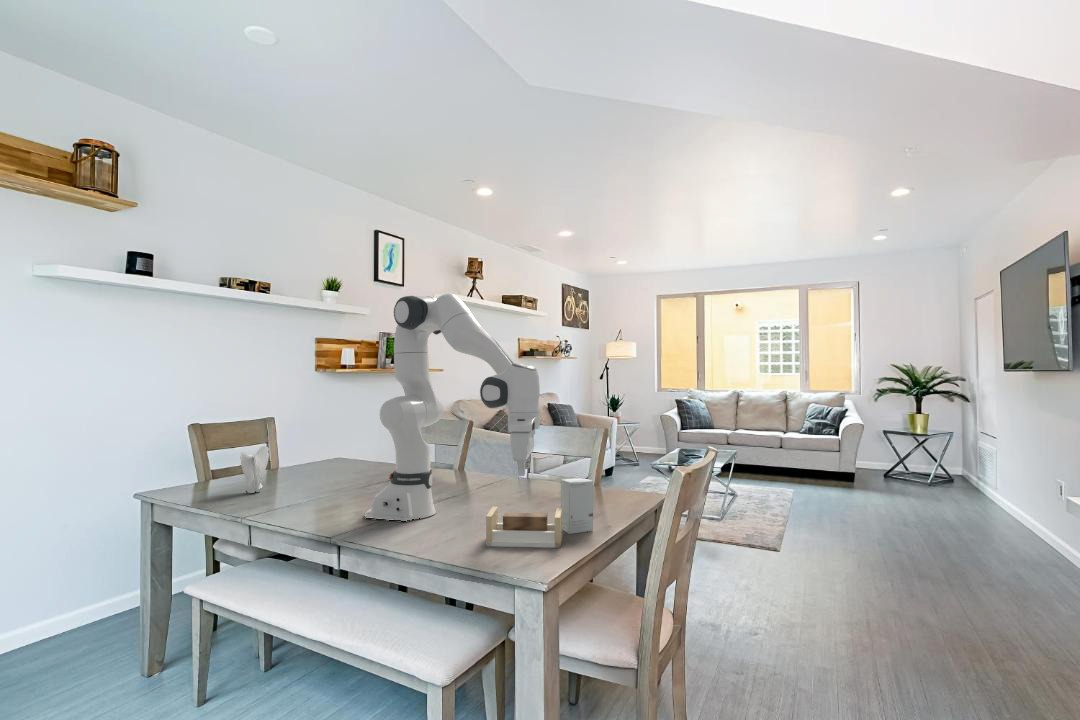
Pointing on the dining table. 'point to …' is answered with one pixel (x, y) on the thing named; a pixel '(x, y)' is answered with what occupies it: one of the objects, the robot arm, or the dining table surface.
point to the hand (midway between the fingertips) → (523, 471)
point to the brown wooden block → (525, 521)
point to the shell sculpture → (254, 467)
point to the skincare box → (577, 505)
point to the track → (522, 533)
